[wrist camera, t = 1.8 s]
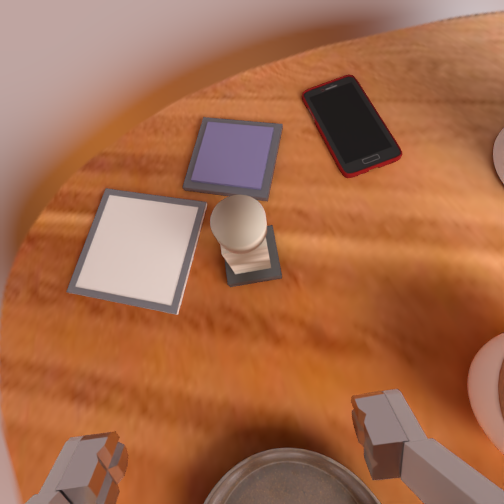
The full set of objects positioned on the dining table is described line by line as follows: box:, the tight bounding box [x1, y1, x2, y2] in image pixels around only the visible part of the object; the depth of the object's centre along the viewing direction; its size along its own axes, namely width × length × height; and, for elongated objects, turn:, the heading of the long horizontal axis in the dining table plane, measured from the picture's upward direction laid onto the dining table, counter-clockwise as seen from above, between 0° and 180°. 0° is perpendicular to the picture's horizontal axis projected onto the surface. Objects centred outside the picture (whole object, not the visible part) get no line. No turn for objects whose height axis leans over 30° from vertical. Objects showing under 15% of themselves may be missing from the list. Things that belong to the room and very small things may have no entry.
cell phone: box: [302, 75, 402, 178], centre depth 38 cm, size 8×15×1 cm, turn 20°
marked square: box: [67, 189, 207, 315], centre depth 36 cm, size 14×14×1 cm
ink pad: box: [183, 117, 283, 201], centre depth 38 cm, size 11×11×1 cm
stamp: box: [210, 195, 282, 287], centre depth 29 cm, size 6×6×11 cm
